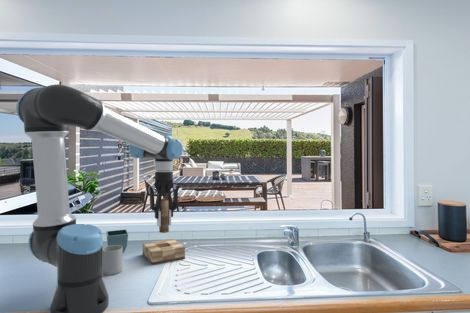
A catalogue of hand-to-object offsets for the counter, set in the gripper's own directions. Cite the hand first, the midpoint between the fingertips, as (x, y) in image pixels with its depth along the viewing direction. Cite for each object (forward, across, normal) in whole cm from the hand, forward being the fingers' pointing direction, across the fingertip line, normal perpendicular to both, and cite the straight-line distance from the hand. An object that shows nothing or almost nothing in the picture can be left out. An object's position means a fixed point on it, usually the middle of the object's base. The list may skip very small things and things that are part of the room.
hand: (164, 225), depth 134 cm
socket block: (+14, 0, 0) cm, 14 cm away
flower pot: (+14, +16, -16) cm, 27 cm away
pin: (+3, 0, 0) cm, 3 cm away
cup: (+14, +21, +5) cm, 26 cm away
